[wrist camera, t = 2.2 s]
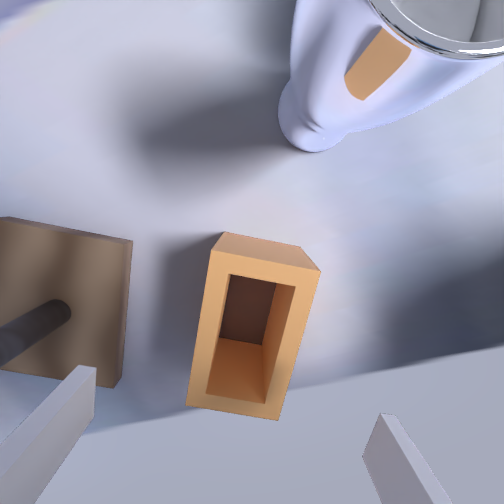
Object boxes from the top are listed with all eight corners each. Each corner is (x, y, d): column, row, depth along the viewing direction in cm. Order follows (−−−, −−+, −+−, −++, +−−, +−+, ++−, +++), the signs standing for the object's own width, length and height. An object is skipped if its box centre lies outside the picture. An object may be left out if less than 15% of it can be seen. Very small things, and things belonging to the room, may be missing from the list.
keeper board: (132, 240, 22) (-5, 296, 10) (121, 377, 25) (10, 534, 14) (8, 216, 21) (-284, 246, 10) (14, 359, 25) (-194, 505, 13)
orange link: (224, 231, 22) (211, 249, 15) (300, 246, 22) (321, 271, 15) (204, 346, 24) (185, 405, 18) (271, 358, 25) (278, 421, 18)
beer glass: (254, 109, 19) (258, -147, 5) (321, 38, 18) (609, -602, 3) (310, 176, 20) (453, 136, 6) (377, 113, 19) (763, -131, 5)
